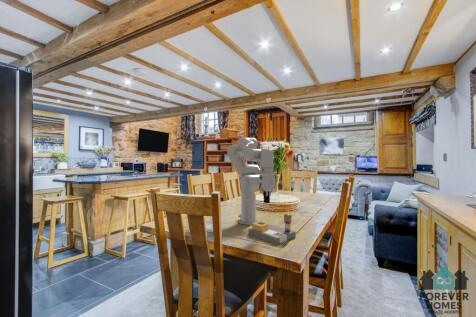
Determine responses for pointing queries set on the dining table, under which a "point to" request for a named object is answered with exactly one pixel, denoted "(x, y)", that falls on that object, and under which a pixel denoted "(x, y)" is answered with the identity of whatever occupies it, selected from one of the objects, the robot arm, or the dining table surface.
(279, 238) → the subfloor board
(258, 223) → the block
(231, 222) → the dining table surface
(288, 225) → the awl
